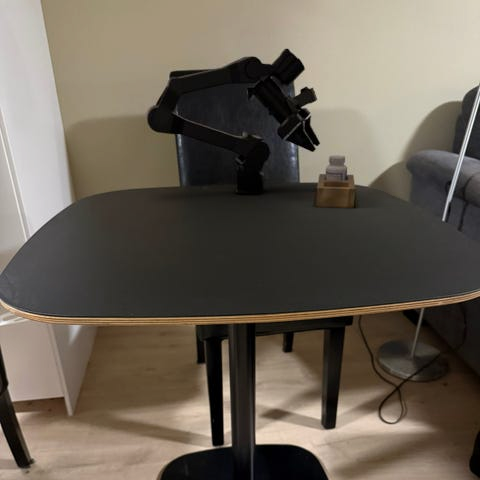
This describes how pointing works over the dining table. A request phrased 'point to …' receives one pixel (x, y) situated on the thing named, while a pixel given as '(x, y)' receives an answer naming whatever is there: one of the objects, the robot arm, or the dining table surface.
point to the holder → (335, 192)
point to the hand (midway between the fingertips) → (316, 147)
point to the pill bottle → (336, 168)
